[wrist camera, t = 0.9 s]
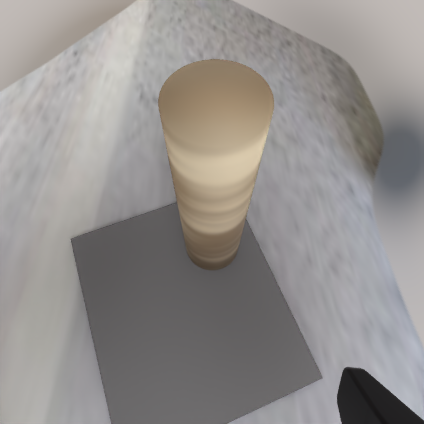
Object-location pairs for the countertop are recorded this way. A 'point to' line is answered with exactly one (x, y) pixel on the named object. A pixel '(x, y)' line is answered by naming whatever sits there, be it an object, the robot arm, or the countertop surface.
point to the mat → (186, 326)
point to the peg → (214, 152)
